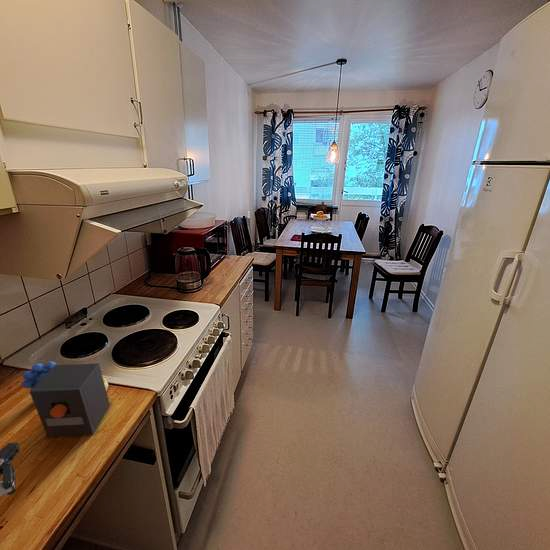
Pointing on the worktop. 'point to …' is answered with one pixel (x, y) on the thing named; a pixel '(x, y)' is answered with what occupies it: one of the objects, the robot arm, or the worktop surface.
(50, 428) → the push button control box
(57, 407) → the power button
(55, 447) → the worktop surface
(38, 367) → the grapes
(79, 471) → the worktop surface
